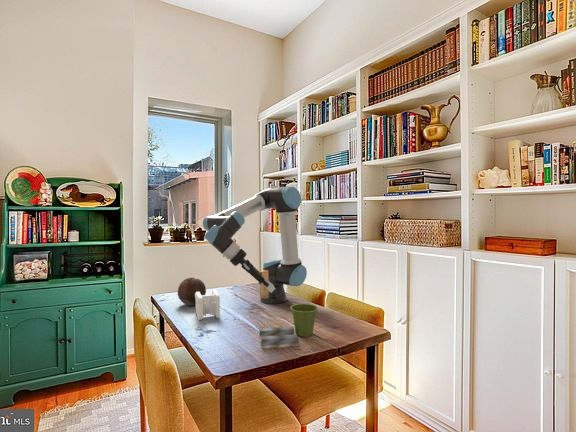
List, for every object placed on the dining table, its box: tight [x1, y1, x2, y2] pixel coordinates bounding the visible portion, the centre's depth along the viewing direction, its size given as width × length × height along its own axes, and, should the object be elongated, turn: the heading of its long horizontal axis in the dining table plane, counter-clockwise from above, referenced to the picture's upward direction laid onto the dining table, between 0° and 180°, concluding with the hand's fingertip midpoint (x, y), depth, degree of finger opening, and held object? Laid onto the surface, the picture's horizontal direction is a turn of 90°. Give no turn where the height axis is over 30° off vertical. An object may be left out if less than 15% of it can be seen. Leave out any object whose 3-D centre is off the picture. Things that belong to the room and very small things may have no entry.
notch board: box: [258, 326, 299, 350], centre depth 138 cm, size 14×12×4 cm
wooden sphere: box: [177, 277, 207, 306], centre depth 191 cm, size 15×15×15 cm
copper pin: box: [258, 269, 269, 299], centre depth 156 cm, size 4×4×12 cm
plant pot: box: [289, 303, 319, 338], centre depth 146 cm, size 12×12×11 cm
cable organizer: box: [195, 289, 221, 321], centre depth 171 cm, size 15×11×12 cm
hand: (272, 289), depth 156 cm, fingers closed on copper pin, 4 cm apart
